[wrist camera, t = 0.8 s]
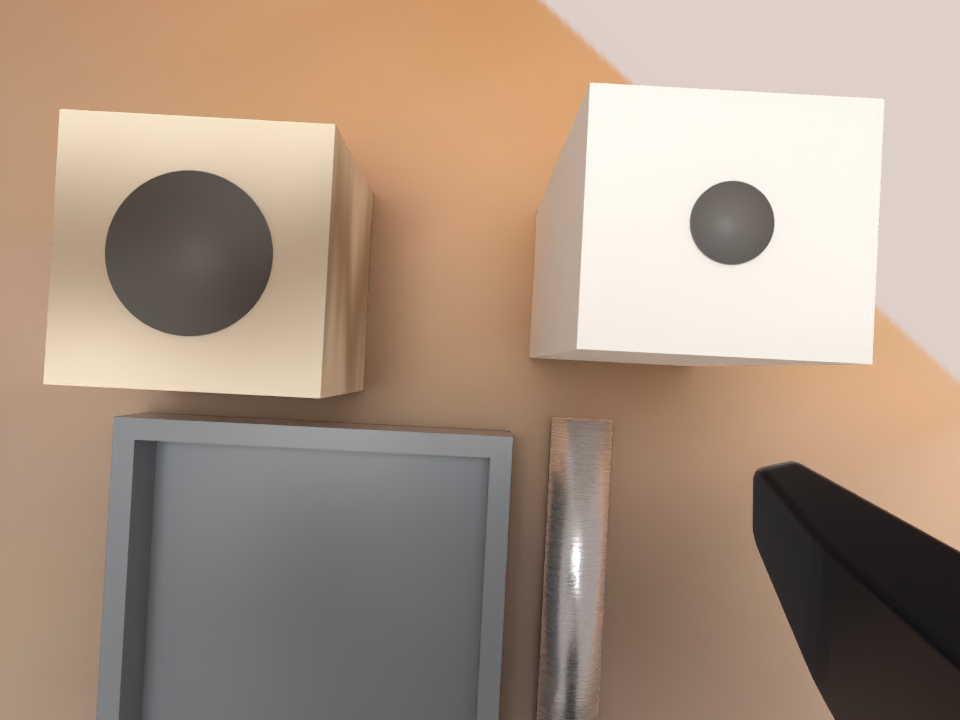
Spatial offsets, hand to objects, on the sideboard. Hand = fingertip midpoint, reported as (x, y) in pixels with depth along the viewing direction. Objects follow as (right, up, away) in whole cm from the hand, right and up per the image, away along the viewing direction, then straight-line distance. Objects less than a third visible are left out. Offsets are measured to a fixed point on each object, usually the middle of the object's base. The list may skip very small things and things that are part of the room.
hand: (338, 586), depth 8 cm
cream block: (+6, +5, +16) cm, 18 cm away
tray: (-3, -5, +16) cm, 17 cm away
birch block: (-5, +5, +16) cm, 18 cm away
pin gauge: (+5, -4, +15) cm, 17 cm away
